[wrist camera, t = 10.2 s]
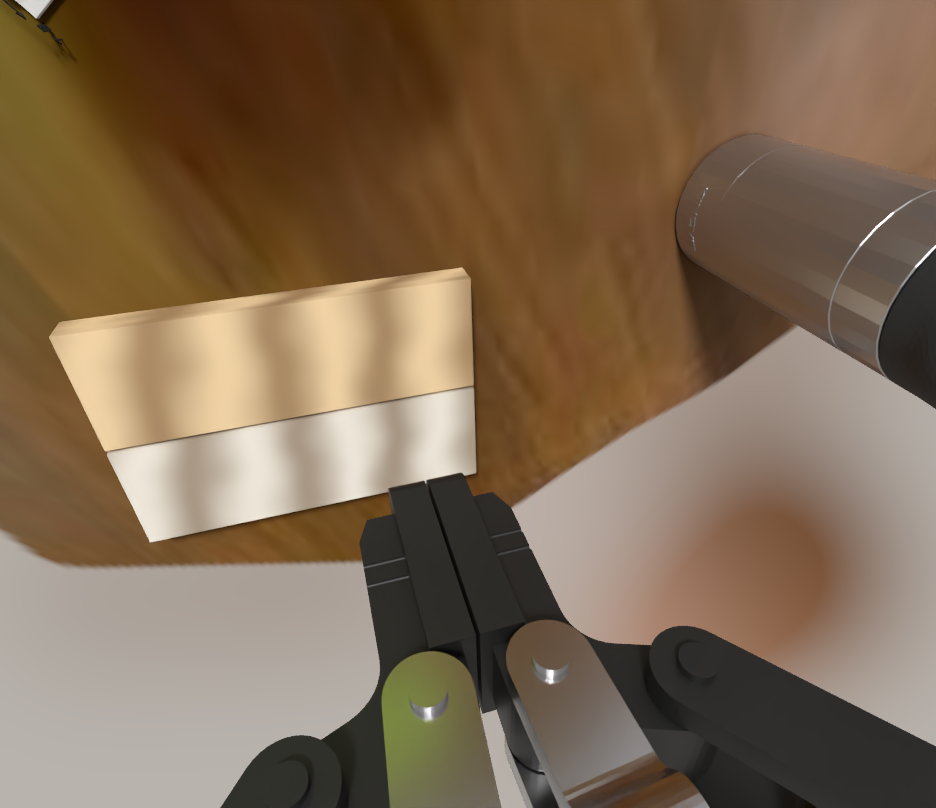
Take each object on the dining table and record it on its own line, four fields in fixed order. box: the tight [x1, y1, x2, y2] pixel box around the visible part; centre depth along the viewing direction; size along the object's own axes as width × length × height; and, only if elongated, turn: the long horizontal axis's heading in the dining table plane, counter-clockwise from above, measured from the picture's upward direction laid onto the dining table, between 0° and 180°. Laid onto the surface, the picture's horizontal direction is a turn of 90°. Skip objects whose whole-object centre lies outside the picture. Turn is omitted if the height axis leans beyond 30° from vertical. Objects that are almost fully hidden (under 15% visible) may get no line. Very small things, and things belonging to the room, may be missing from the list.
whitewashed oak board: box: [107, 386, 476, 542], centre depth 42 cm, size 24×8×2 cm, turn 92°
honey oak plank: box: [49, 268, 474, 451], centre depth 37 cm, size 24×8×2 cm, turn 92°
